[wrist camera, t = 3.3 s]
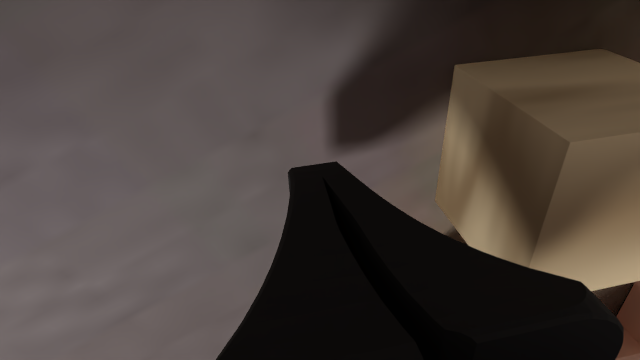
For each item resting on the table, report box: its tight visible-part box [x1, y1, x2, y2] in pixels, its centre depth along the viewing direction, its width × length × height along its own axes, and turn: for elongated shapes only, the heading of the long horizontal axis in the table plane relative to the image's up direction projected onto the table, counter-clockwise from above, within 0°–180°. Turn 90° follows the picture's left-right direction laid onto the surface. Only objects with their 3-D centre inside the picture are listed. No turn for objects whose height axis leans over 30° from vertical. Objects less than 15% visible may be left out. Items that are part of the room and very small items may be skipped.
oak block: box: [435, 49, 640, 291], centre depth 12 cm, size 5×5×5 cm
